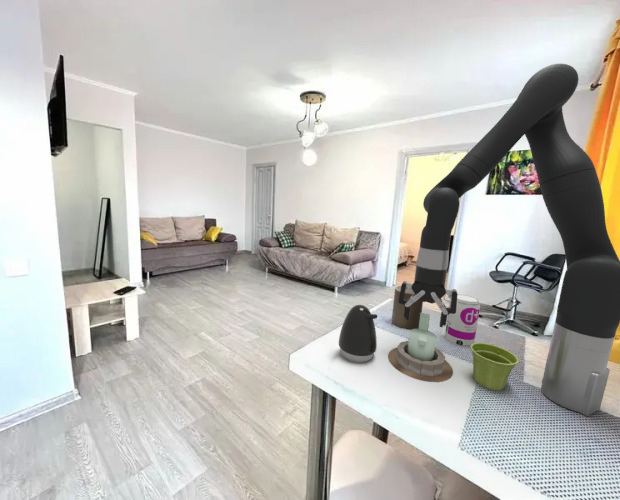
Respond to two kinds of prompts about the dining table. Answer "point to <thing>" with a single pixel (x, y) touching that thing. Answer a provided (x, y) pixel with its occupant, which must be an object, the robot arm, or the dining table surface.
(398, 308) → the pillar candle
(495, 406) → the dining table surface
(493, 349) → the plant pot
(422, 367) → the stone ring brown dish
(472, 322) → the supplement can
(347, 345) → the dark rounded figure
